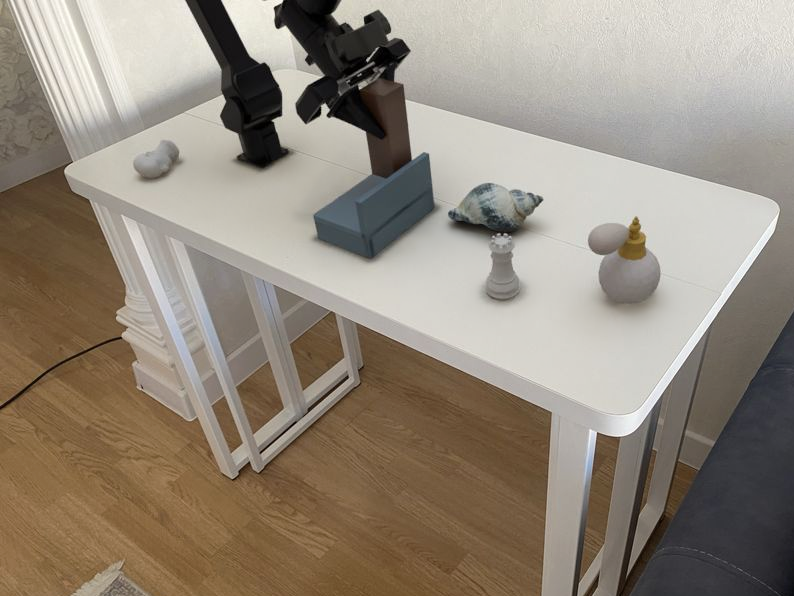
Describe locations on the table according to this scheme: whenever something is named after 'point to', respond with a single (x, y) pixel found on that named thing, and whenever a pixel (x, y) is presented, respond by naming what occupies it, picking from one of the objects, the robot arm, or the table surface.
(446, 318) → the table surface
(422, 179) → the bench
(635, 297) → the perfume bottle
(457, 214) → the seashell
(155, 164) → the smooth white sculpture
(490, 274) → the rook chess piece
